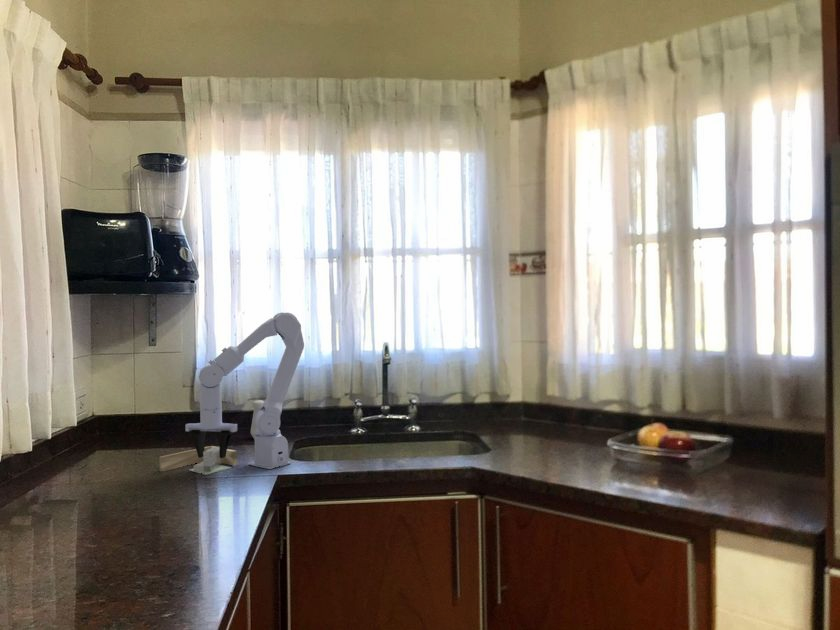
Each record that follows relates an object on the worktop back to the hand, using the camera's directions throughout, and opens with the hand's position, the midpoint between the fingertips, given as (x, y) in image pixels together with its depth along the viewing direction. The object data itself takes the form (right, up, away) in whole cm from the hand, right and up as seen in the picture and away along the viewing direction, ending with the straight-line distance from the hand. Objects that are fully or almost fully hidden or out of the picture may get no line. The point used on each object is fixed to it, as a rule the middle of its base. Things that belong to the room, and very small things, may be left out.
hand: (212, 457), depth 175 cm
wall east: (-9, -4, +6) cm, 12 cm away
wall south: (0, -4, +9) cm, 9 cm away
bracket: (-1, -3, 0) cm, 4 cm away
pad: (-1, -4, +1) cm, 4 cm away
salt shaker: (+2, -3, +42) cm, 43 cm away
